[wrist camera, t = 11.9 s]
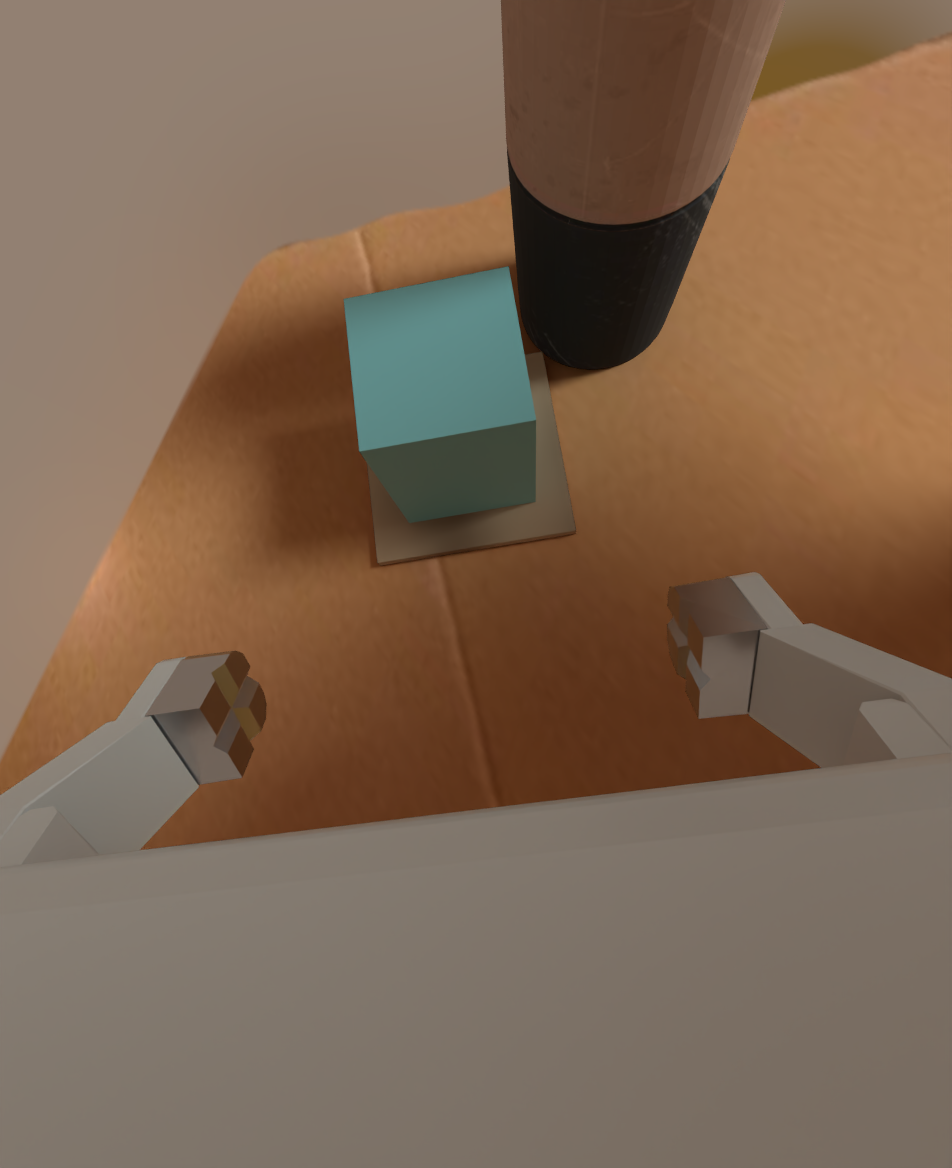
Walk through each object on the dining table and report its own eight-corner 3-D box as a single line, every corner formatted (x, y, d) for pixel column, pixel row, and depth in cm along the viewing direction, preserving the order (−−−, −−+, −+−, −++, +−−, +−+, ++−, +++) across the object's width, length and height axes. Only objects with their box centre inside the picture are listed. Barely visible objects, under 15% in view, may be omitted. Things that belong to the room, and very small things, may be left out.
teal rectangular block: (515, 386, 26) (508, 266, 19) (535, 502, 25) (536, 419, 18) (395, 408, 27) (343, 298, 19) (409, 523, 26) (359, 451, 18)
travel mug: (585, 212, 29) (694, -840, 9) (706, 294, 27) (1160, -773, 7) (483, 316, 28) (365, -575, 8) (601, 406, 26) (795, -442, 7)
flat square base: (542, 357, 27) (544, 252, 21) (575, 533, 25) (589, 477, 19) (361, 391, 28) (310, 299, 21) (380, 565, 26) (330, 521, 19)
